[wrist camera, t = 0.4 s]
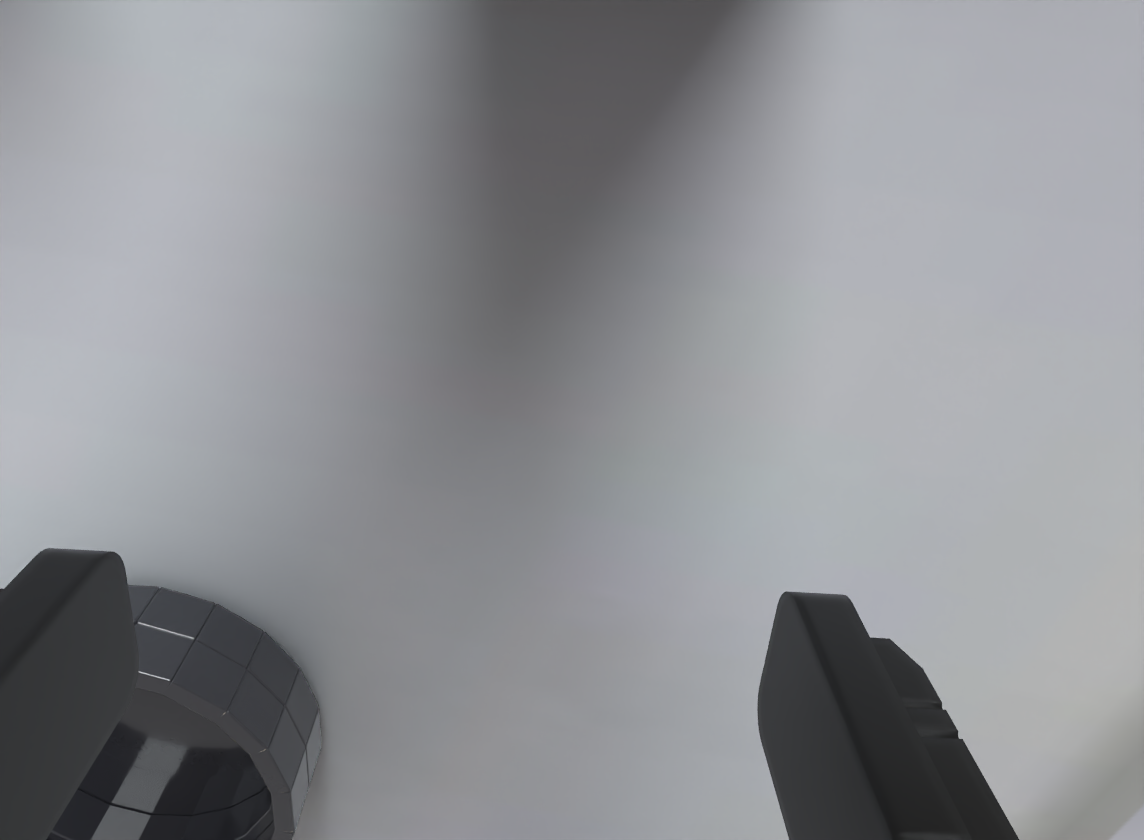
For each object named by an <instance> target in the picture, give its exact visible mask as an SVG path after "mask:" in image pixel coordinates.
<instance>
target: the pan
mask: <svg viewBox="0 0 1144 840" xmlns="http://www.w3.org/2000/svg"><path fill="white" fill-rule="evenodd" d="M128 590H129V596H130V602H131V608H132V614H133V621H134V627H135V633H136V639H137V645H138V651H139V671H138V678H137V683H136V687H135V690H134V693H133V696H132V699H131V701H130V703H129V706H128V707H127V709H126V711H125V713H124V714H123V716H122V717H121V719H120V721H119V722H118V724H117V726H116V727H115V729H114V730H113V732H112V734H111V735H110V737H109V739H108V740H107V742H106V743H105V745H104V747H103V748H102V750H101V752H100V753H99V755H98V756H97V758H96V760H95V761H94V763H93V764H92V766H91V768H90V769H89V771H88V773H87V774H86V776H85V777H84V779H83V781H82V782H81V784H80V786H79V787H78V789H77V790H76V792H75V794H74V795H73V797H72V799H71V800H70V802H69V803H68V805H67V807H66V808H65V810H64V812H63V813H62V815H61V816H60V818H59V820H58V821H57V823H56V825H55V826H54V828H53V829H52V831H51V833H50V834H49V836H48V838H47V839H46V840H292V838H293V836H294V833H295V830H296V827H297V824H298V821H299V817H300V814H301V811H302V808H303V805H304V801H305V798H306V795H307V792H308V788H309V785H310V782H311V779H312V776H313V773H314V770H315V766H316V763H317V760H318V757H319V754H320V751H321V746H322V742H321V727H320V713H319V707H318V703H317V701H316V699H315V697H314V695H313V693H312V691H311V689H310V687H309V685H308V683H307V681H306V679H305V677H304V675H303V673H302V671H301V669H300V668H299V666H298V665H297V664H296V663H295V662H294V661H293V660H292V659H291V658H290V657H289V656H288V655H287V654H286V653H285V652H284V651H283V650H282V649H281V648H280V646H279V645H278V644H277V643H276V642H275V641H274V640H273V639H272V638H271V637H270V636H269V635H268V634H267V633H266V632H263V630H261V629H260V628H258V627H256V626H254V625H253V624H251V623H249V622H248V621H246V620H245V619H243V618H242V617H240V616H238V615H236V614H234V613H232V612H230V611H229V610H227V609H225V608H224V607H222V606H220V605H218V604H215V603H214V602H211V601H207V600H204V599H200V598H197V597H194V596H191V595H187V594H184V593H180V592H177V591H173V590H170V589H166V588H163V587H161V588H159V587H157V586H135V585H128Z"/></svg>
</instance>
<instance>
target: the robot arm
mask: <svg viewBox="0 0 1144 840" xmlns="http://www.w3.org/2000/svg"><path fill="white" fill-rule="evenodd" d="M138 671H139V651H138V645H137V639H136V633H135V627H134V621H133V614H132V608H131V602H130V596H129V590H128V584H127V578H126V572H125V567H124V563H123V561H122V559H121V557H120V556H119V555H118V554H117V553H115V552H107V551H89V550H72V549H54V548H48V549H45V550H43V551H41V552H40V553H39V554H38V555H36V556H35V557H34V558H33V559H32V561H31V562H30V563H29V564H28V565H27V566H26V567H25V568H24V569H23V570H22V571H21V572H20V573H19V574H18V575H17V576H16V577H15V578H14V579H13V580H12V581H11V582H10V583H9V585H8V586H7V587H6V588H5V589H0V840H46V839H47V838H48V836H49V834H50V833H51V831H52V829H53V828H54V826H55V825H56V823H57V821H58V820H59V818H60V816H61V815H62V813H63V812H64V810H65V808H66V807H67V805H68V803H69V802H70V800H71V799H72V797H73V795H74V794H75V792H76V790H77V789H78V787H79V786H80V784H81V782H82V781H83V779H84V777H85V776H86V774H87V773H88V771H89V769H90V768H91V766H92V764H93V763H94V761H95V760H96V758H97V756H98V755H99V753H100V752H101V750H102V748H103V747H104V745H105V743H106V742H107V740H108V739H109V737H110V735H111V734H112V732H113V730H114V729H115V727H116V726H117V724H118V722H119V721H120V719H121V717H122V716H123V714H124V713H125V711H126V709H127V707H128V706H129V703H130V701H131V699H132V696H133V693H134V690H135V687H136V683H137V678H138ZM758 725H759V733H760V738H761V742H762V746H763V749H764V753H765V756H766V760H767V763H768V767H769V770H770V774H771V777H772V781H773V784H774V788H775V791H776V795H777V798H778V802H779V805H780V809H781V812H782V816H783V819H784V823H785V826H786V830H787V833H788V837H789V840H1019V839H1018V837H1017V835H1016V833H1015V831H1014V830H1013V828H1012V826H1011V824H1010V823H1009V821H1008V819H1007V817H1006V815H1005V814H1004V812H1003V810H1002V808H1001V807H1000V805H999V803H998V801H997V800H996V798H995V796H994V794H993V792H992V791H991V789H990V787H989V785H988V784H987V782H986V780H985V778H984V776H983V775H982V773H981V771H980V769H979V768H978V766H977V764H976V762H975V761H974V759H973V757H972V755H971V753H970V752H969V750H968V748H967V746H966V745H965V743H964V741H963V739H959V738H958V730H957V729H956V727H955V725H954V723H953V722H952V720H951V718H950V716H949V714H948V713H947V711H946V710H942V702H941V700H940V699H939V697H938V695H937V693H936V691H935V690H934V688H933V686H932V684H931V683H930V681H929V679H928V677H927V675H926V674H925V672H924V670H923V669H922V668H921V667H920V666H919V665H918V664H917V663H916V662H915V661H914V660H912V659H911V658H910V657H909V656H908V655H907V654H906V653H905V652H904V651H903V650H901V649H900V648H899V647H898V646H897V645H896V644H895V643H894V642H893V641H892V640H890V639H885V638H870V637H869V635H868V633H867V631H866V629H865V627H864V625H863V623H862V621H861V619H860V617H859V615H858V613H857V611H856V609H855V607H854V605H853V603H852V602H851V600H850V599H849V598H848V597H847V596H846V595H838V594H820V593H802V592H784V593H783V594H782V596H781V597H780V600H779V602H778V606H777V610H776V614H775V619H774V623H773V628H772V632H771V637H770V641H769V646H768V650H767V655H766V659H765V664H764V668H763V673H762V677H761V682H760V686H759V693H758Z"/></svg>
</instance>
